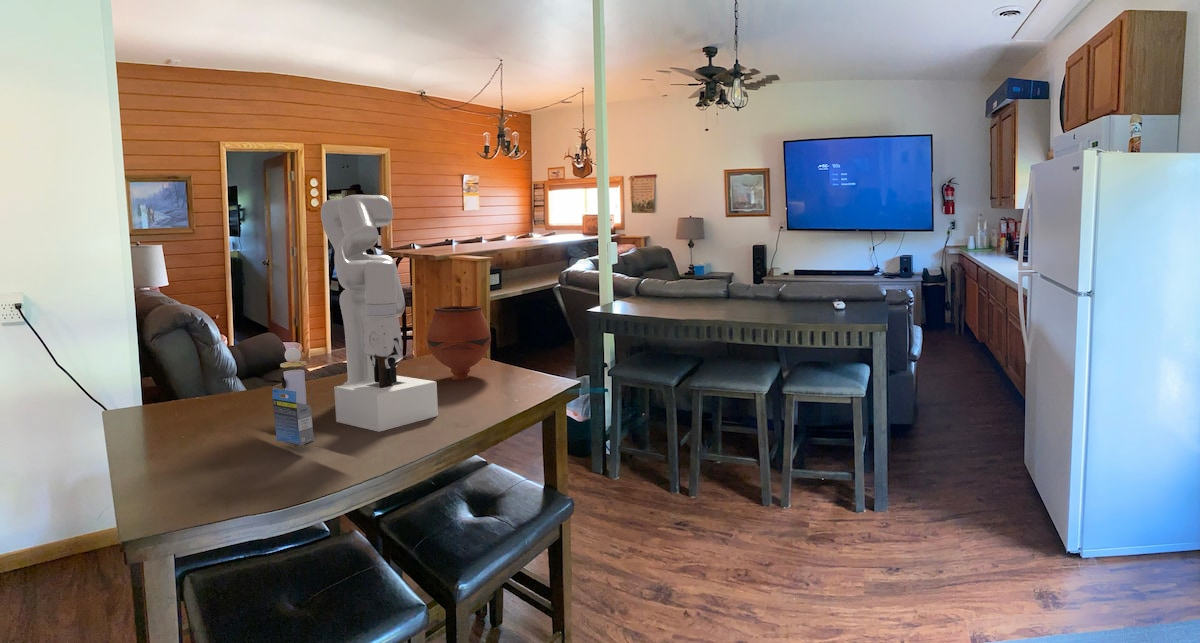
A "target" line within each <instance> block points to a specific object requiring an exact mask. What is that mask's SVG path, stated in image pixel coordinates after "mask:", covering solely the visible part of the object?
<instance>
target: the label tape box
mask: <svg viewBox="0 0 1200 643" xmlns="http://www.w3.org/2000/svg"><path fill="white" fill-rule="evenodd" d="M281 395H287V396H288V398H285V397H284V396H281ZM272 406H273V417H274V426H275V427H274V429H275V437H276V440H277V441H280V442H285V443H292V444H297V445H304V444H305V445H306V444H308V443H311V442H314V441H315V437H314V427H313V418H312V417H313V416H312V407H311V404H308V403H306V404H302V403H297V402H296V391H289V390H284V388H277V387H272Z"/></svg>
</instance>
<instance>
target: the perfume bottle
mask: <svg viewBox="0 0 1200 643" xmlns="http://www.w3.org/2000/svg"><path fill="white" fill-rule="evenodd" d="M301 357H302V352H301V351H300V349H299V348H298V347H294V346H292V347H288V348H287V349H286V350H285V352H284V359H285V360H286V362H282V363H280V364H279V365H280V366H279V367H280V368H284V369H285V368H288V370H285V371H283V374H282V377H281V378H280V380H281V389H284V390H289V391H296V402H297V403H302V404H307V392H306V391H307V390H306V379H305V378H306V375H305V370H304V369H290V370H289V368H300V367H304V366H307V361H304V360H303V361H301V360H300V359H301ZM284 395H285V394H284ZM284 398H288V396H287V395H285V397H284Z"/></svg>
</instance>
